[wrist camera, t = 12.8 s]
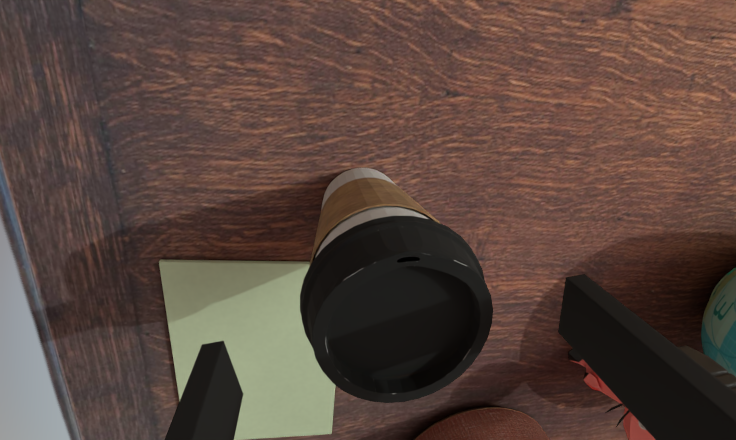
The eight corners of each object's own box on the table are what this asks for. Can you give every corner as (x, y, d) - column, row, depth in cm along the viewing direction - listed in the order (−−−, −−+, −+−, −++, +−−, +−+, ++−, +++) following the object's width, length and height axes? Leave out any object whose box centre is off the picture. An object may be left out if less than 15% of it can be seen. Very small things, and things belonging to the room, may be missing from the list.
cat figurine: (614, 313, 36) (745, 421, 25) (631, 353, 39) (756, 466, 28) (552, 349, 37) (652, 469, 26) (572, 385, 39) (672, 508, 29)
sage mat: (160, 259, 27) (158, 261, 27) (344, 261, 29) (344, 264, 29) (186, 439, 35) (185, 443, 34) (331, 430, 37) (331, 434, 37)
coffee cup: (415, 146, 26) (524, 233, 13) (413, 248, 30) (497, 403, 16) (299, 153, 25) (283, 255, 12) (311, 257, 29) (308, 431, 15)
